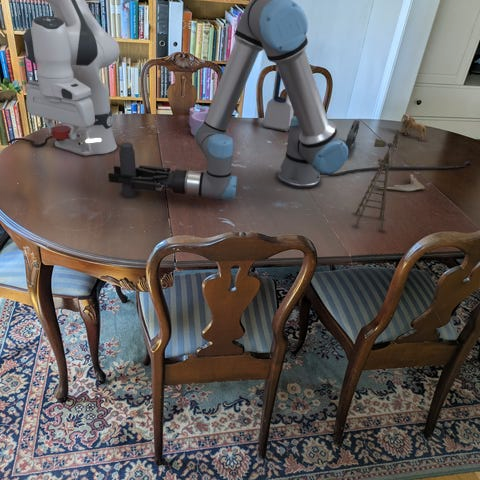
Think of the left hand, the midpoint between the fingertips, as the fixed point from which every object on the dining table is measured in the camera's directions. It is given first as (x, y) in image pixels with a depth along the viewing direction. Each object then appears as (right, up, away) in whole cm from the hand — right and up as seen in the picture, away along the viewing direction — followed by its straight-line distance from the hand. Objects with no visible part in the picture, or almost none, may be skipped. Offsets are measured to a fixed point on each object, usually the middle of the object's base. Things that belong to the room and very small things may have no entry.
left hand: (63, 136), depth 130 cm
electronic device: (+66, +22, +83) cm, 108 cm away
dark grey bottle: (+14, -14, +18) cm, 27 cm away
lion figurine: (+130, +20, +90) cm, 160 cm away
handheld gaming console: (+95, +9, +68) cm, 117 cm away
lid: (0, +2, -1) cm, 2 cm away
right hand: (+10, -8, +14) cm, 19 cm away
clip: (+33, +18, +71) cm, 81 cm away
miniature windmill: (+89, -23, +16) cm, 94 cm away
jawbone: (+107, -9, +42) cm, 115 cm away
